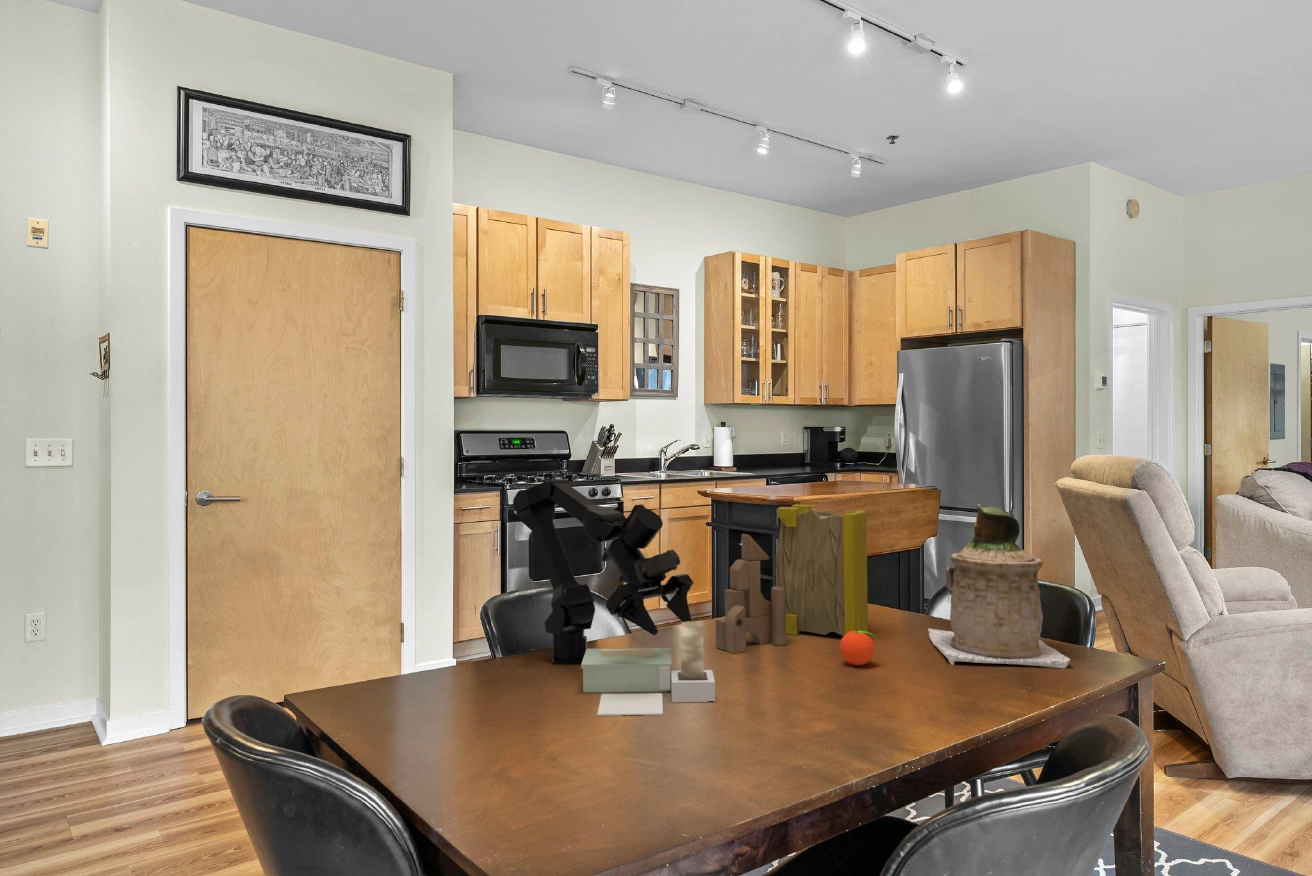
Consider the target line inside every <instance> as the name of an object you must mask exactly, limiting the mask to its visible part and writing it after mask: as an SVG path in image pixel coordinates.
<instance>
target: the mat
mask: <svg viewBox="0 0 1312 876" xmlns="http://www.w3.org/2000/svg"><path fill="white" fill-rule="evenodd" d="M663 710H664V709H663V692H655V693H654V692H653V693H652V692H646V693H601V696H600V700H599V705H598V709H597V713H596V715H597V717H602V716H603V717H614V716H615V717H623V716H622V715H627V717H628V715H644V716H663V715H664V711H663Z"/></svg>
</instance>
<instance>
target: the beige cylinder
mask: <svg viewBox="0 0 1312 876" xmlns="http://www.w3.org/2000/svg"><path fill="white" fill-rule="evenodd" d="M680 655H681V656H680V657H681V658H680V662H681V663H680V665H681V668H680V670H681V680H704V671H703V670H704V622H701V621H695V620H694V621H693V620H692V621H687V622H682V621H681V623H680Z"/></svg>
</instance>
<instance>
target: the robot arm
mask: <svg viewBox="0 0 1312 876" xmlns="http://www.w3.org/2000/svg"><path fill="white" fill-rule="evenodd" d="M512 501H513V502H512V503H513V504H512V505H513V508H514V511H515V513H516V515H517V517H518V519H519V521H520V522H521V523H522V524H524V525H525V527H527V528H528V529H529V530H531V532H532V535H533V538H534V540H535V544H536V546H537V548H538V552H539V553H540V557H541V560H542V562H543V565H544V567H545V571H546V573H547V576H548V578H549V581H550V583H551V587H552V589H553V592H552V597H551V602H550V604H551V609H552V611H551V613H550V614H549V615H548V617H547V618H546V619H545V622H544V626H545V627H544V628H545V632H546V633H547V634H551V635H552V636H553V637H552V638H553V639H552V641H553V642H552V643H553V644H552V645H553V646H552V647H553V648H552V649H553V650H552V651H553V652H552V653H553V658H552V660H551V664H582V661H583V658H584V655H585V652H586V649H588V636H587V635H585V630H590V629H591V628H592V625H593V622H594V621H593V620H594V617H595V613H596V605H595V603H594V602H596V600H595V599H594V597H593V595H592V593H591V590H590V587H589V585H588V584H587V583H584V584H583V583H582V584H580V583H579V582H578V581H577V580H576V577H575V576H574V573H573V570H572V569H571V568H572V567H571V565H570V563H569V561H568V557H567V555H566V553H565V550H564V548H563V545H562V541H561V539H560V537H559V534H558V532H557V529H556V527H555V525H554V524H555V523H554V517H555V513H556V505H557V506H558V507H560V508H561V509H563V510H564V511H565V512H566V513H568V514H570V515H571V516H572V517H573V518H575V519H576V520H578V521H579V522H580V523H581V524H582V528H583V531H584V532H585V534H586V535H587V536H588V537H589V539H590V540H592V541H593V542H594V543H596V544H599V543H600V544H601V543H606V542H611V543H610V544H609V545H608V547H603V553H602V554H601V555H602V556H601V561H602V562H605V563H606V562H612V564H613V565H615V566H614V567H616V569H617V571H618V572H619V574H620V576H619V578H618V580H619V582H620V584H619V585H617V586H616V587H615V588H614V590H612V593H611V594H610V595H609V597H608V598H607V599H606V603H605V604H606V606H605V607H606V609H607V610H608V612H609V613H610V615H611V616H615V615H616V616H617V617H618V618H622V619H624V620H627V622H630V623H632V624H634V625H636V626H637V627H639V628H641V629H643V630H644V631H646V632H647V633H649V634H651V635H652V636H656V635H657V634H658V632H659V630H658V628H657V626H656V624H655V621H653V619H652V617H651V616H650V613H649V612H648V610H647V609H646V607H645V604H644V601H645V600H648V599H653V598H658V597H661V599H662V601H663V602H665V603H666V605H665V607H667V609H669V611H670V612H672V613H673V614H674V615H675V616H676V617H677V619H679V620H680V621H681V623H682V622H687V621H693V619H692V616H691V611H690V608H689V603H688V593H689V591H690V590H691V589H692V586H693V585H694V581H693V579H692V578H691V576H690V575H689V574H686V573H679V574H675V575H671V576H670V577H669V579H668V580H667V581H666V582H665V584H662V581H665V579H666V578H667V575H666V574H668V573H669V572H671V571H675V570H678V566H679V565H680V563H681V559H680V556H679V555H678V553H677V552H676V551H675V550H674V549H668V550H666V552H662V553H660V554H656V555H653V556H651V557H645V555H644V554H643V553H642V551H641V549H643V550H644V549H646V548H648V547H649V545H650V544H651V542H652V541H653V540H654V538H655V537H656V536H657V534H658V533H659V532H660V531H661V529H662V528H663V525H664V522H663V520H662V517H660V515H659V514H657V513H656V512H655V511H653V510H651V509H649V508H646V507H645V506H644V503H643V504H634V506H633V507H632V509H631V511H630V513H629V515H628V516H627V517H626V516H625V514H623V512H621V511H619V510H615V509H613V508H611V507H607V506H605V507H604V506H601V505H599V504H597V503H595V502H594V501H592V500H591V499H589V498H588V497H587V496H585V495H583V494H582V493H581V492H579V491H578V490H576V489H575V488H574V487H573V486H572V485H570V484H569V483H568V481H566V480H564V479H561V478H560V479H559V478H556V479H553V478H552V479H546V480H544V481H543V482H541V483H539V484H537V485H534V486H530V487H529V488H526V489H519V490H518V491H517V492H516V494H515V496H514V497H513V500H512Z"/></svg>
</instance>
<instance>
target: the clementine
mask: <svg viewBox="0 0 1312 876" xmlns="http://www.w3.org/2000/svg"><path fill="white" fill-rule="evenodd" d="M870 635H871V636H873V637H875V635H874V634H872V633H870V632H869V631H868V632H865V631H858V630H856V631H850V632H848V633H847V634H845V635H844V636H842V638H841V640H840V643H839V651H840V655H841V657H842V658H843V659H844V660H845V661H846V662H847V663H848V664H850V665H852V666H853V665H854V666H863V665H866V664H868V663H870V661H871V660H872V659H873V657H874V654H875V643H874V641H873V639H872V638H871V636H870Z"/></svg>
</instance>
